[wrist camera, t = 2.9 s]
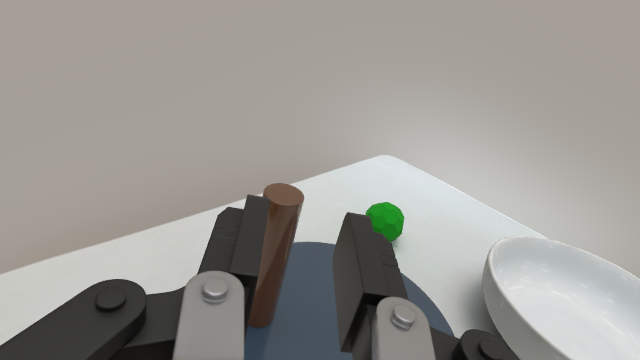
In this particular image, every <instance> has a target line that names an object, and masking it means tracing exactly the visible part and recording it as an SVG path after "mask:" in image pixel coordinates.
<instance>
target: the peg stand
mask: <svg viewBox="0 0 640 360" xmlns="http://www.w3.org/2000/svg"><path fill="white" fill-rule="evenodd" d="M263 197H266V198H270V202H269V209H268V216H267V222H266V229H265V235H264V242H263V249H262V255H261V262H260V268H259V275H258V280H257V285H256V290H255V295H254V300H253V305H252V309H251V314H250V319H249V324H248V329H247V334H246V338H245V340H244V360H353V357H352V353H346V352H340V344H339V333H338V322H337V311H336V301H335V290H334V279H333V268H332V262H333V254H334V249H335V246H336V245H335V244H329V243H321V242H295V243H293V241H294V237H295V233H296V229H297V225H298V221H299V217H300V213H301V209H302V205H303V201H304V195H303V193H302V192H301V191H300V190H299V189H297V188H296V187H294V186H291V185H288V184H282V183H275V184H271V185H268V186H267V187H266V188H265V189H264V193H263ZM400 273H401V272H400ZM401 276H402V279H403V282H404V285H405V289H406V292H407V295H408V298H409V301H410V302H412V303H413V304H415V305H416V306H417V307H419V308H420V309H421V310H422V312H423V313H424V314H425V316H426V317H427V320H428V323H429V326H431V327H433V328H435V329H437V330H439V331H441V332H444V333H446V334H448V335H451V336H453V337H455V336H454V334H453V332H452V330H451V328H450V326H449V324H448V323H447V321H446V319H445V318H444V316H443V314H442V313H441V312H440V310H439V309H438V308H437V306H436V305H435V304H434V303H433V301H432V300H431V299H430V298H429V297H428V296H427V295H426V294H425V293H424V292H423V291H422V290H421V289H420V288H419V287H418V286H417V285H416V284H415V283H414V282H412V281H411V280H410V279H409V278H407V277H406V276H405V275H404V274H402V273H401Z"/></svg>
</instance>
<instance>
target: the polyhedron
mask: <svg viewBox="0 0 640 360" xmlns="http://www.w3.org/2000/svg"><path fill="white" fill-rule="evenodd" d="M366 216H370V218H371V222H372V226H373V229H374V232H377V233H383V235H384V236H385V237H386V238H387V239H388V241H393V240H395V239H396V238H398V237H399V236H400V235H401V234H402V229H403V222H404V216H403V214H402V212H401V210H400V209H399V208H398V207H396V206H395V205H393V204H391V203H389V202H384V203H378V204H374V205H372V206H371V207H370V208H369V209H368V210H367V212H366Z"/></svg>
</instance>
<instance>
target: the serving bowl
mask: <svg viewBox="0 0 640 360" xmlns="http://www.w3.org/2000/svg"><path fill="white" fill-rule="evenodd" d="M482 284H483V294H484V299H485V303H486V306H487V309H488V311H489V314H490V316H491V318H492V320H493V322H494V324H495V326H496V328H497V330H498V331H499V333H500V334H501V336H502V337H503V339H504V340H505V342H506V343H507V344H508V346H509V347H510V348H511V350H512V351H513V352H514V353H515V354H516V355H517V357H518V358H519V359H520V360H640V279H639V278H637V277H636V276H634V275H633V274H631V273H629V272H627V271H626V270H624V269H622V268H620V267H618V266H617V265H615V264H613V263H611V262H609V261H607V260H605V259H603V258H600V257H598V256H596V255H594V254H591V253H589V252H587V251H584V250H582V249H580V248H577V247H574V246H571V245H568V244H565V243H562V242H559V241H555V240H551V239H546V238H542V237H534V236H511V237H507V238H504V239H501V240H499V241H498V242H496V243H495V244H494V245H493V246H492V247H491V249H490V251H489V253H488V256H487V259H486V262H485V266H484V271H483V280H482Z"/></svg>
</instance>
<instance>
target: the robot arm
mask: <svg viewBox="0 0 640 360" xmlns="http://www.w3.org/2000/svg"><path fill="white" fill-rule="evenodd" d="M269 202H270V198H266V197H260V196H254V195H247V199H246V203H245V207H244V209H238V208H232V207H227V208H226V209H225V210H224V211H222V212H221V213H220V214H219V215H218V217H217V220H216V222H215V225H214V228H213V231H212V234H211V238H210V239H209V242H208V245H207V248H206V251H205V254H204V257H203V259H202V262H201V265H200V268H199V271H198V273H197V275H196V276H194V277H193V278H192V279H190V280H189V282H188V283H187V285H186V286H184V287H182V288H180V289H178V290H175V291H171V292H166V293H158V294H149V295H146V293H145V291H144V289H143V288H142V287H141V286H140V285H138V284H137V283H135V282H132V281H129V280H124V279H112V280H106V281H102V282H99V283H97V284H94V285H92V286H90V287H89V288H87V289H85V290H84V291H82V292H81V293H79V294H78V295H76V296H75V297H73V298H72V299H70V300H69V301H67V302H66V303H64V304H63V305H61V306H60V307H58V308H57V309H55V310H54V311H52V312H51V313H49V314H48V315H46V316H45V317H43V318H42V319H40V320H39V321H37V322H36V323H34V324H33V325H31V326H29V327H28V328H26V329H25V330H23V331H22V332H20V333H19V334H17V335H16V336H14V337H13V338H11V339H10V340H8V341H7V342H5V343H4V344H2V345H1V346H0V360H244V340H245V338H246V334H247V329H248V324H249V319H250V314H251V309H252V305H253V300H254V295H255V290H256V285H257V280H258V275H259V268H260V262H261V255H262V249H263V242H264V235H265V229H266V222H267V216H268V209H269ZM332 268H333V279H334V290H335V301H336V311H337V322H338V333H339V344H340V352H346V353H352V357H353V360H519V358H518V357H517V356H516V355H515V354H514V353H513V352H512V351H511V350H510V349H509V348H508V347H507V346H506V345H505V344H504V343H503V342H502V341H500V340H499V339H498V338H496V337H495V336H493V335H491V334H489V333H487V332H485V331H481V330H476V329H473V330H468V331H466V332H465V333H464V334H463V335H462V337H461V338H460V339H458V338H456V337H453V336H451V335H448V334H446V333H444V332H441V331H439V330H437V329H435V328H433V327H431V326H429V323H428V320H427V317H426V316H425V314H424V313H423V312H422V310H421V309H420V308H419V307H417V306H416V305H415V304H413V303H412V302H410V301H409V298H408V295H407V292H406V289H405V285H404V282H403V279H402V276H401V273H400V269H399V268H398V263H397V260H396V258H395V253H394V250H393V247H392V244H391V243H390V242H389V241H388V239H387V238H386V237H385V236H384V235H383V233H377V232H374V229H373V226H372V222H371V218H370V216H366V215H361V214H355V213H349V212H348V213H347V214H346V215H345V218H344V221H343V224H342V227H341V230H340V233H339V236H338V240H337V243H336V246H335V249H334V254H333V262H332Z"/></svg>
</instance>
